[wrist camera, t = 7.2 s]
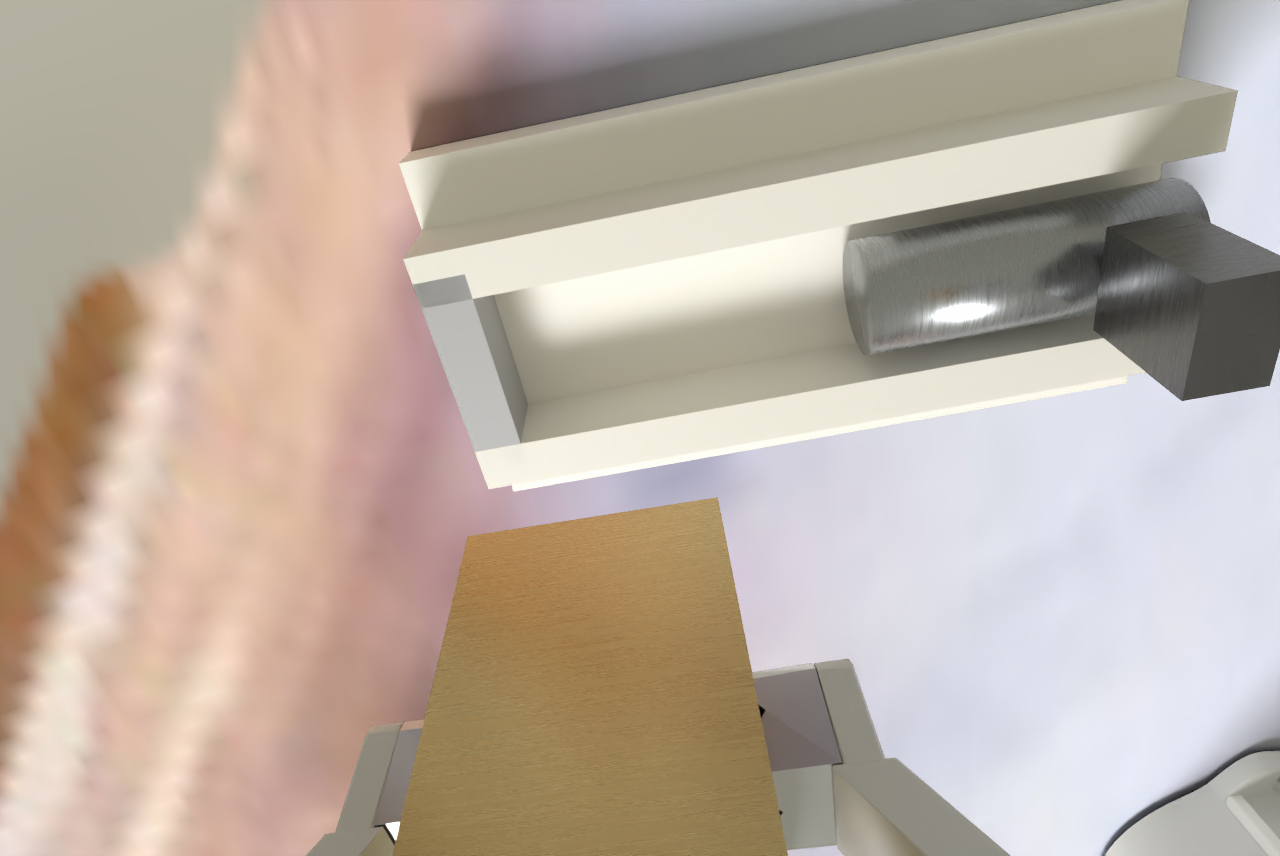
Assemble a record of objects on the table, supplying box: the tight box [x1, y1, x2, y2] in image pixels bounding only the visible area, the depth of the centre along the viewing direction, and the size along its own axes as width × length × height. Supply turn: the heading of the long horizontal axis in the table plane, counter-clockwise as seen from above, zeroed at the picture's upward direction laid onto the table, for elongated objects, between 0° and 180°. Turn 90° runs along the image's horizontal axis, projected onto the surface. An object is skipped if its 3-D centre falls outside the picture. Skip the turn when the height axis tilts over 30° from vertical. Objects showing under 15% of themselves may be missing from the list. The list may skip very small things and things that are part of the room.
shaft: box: [843, 178, 1280, 401], centre depth 21 cm, size 9×3×7 cm, turn 101°
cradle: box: [399, 0, 1238, 491], centre depth 24 cm, size 22×12×4 cm, turn 101°
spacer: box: [392, 497, 788, 856], centre depth 11 cm, size 4×4×6 cm
